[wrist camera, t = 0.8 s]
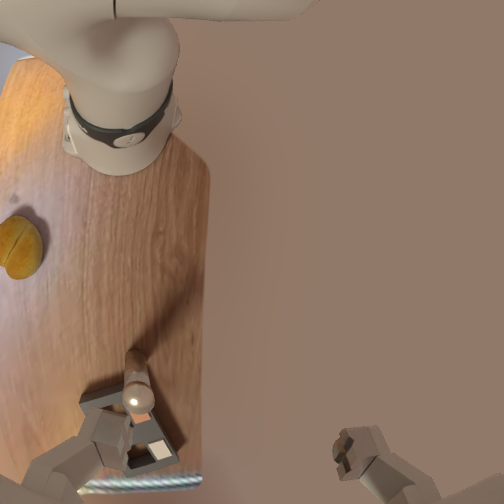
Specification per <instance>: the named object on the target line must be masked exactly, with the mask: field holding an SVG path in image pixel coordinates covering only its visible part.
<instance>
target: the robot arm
mask: <svg viewBox="0 0 504 504" xmlns="http://www.w3.org/2000/svg"><path fill="white" fill-rule="evenodd" d="M318 1H319V0H0V42H2V43H5V44H9V45H12V46H14V47H17V48H19V49H21V50H23V51H25V52H27V53H29V54H31V55H33V56H34V57H36V58H38V59H39V60H41V61H43V62H44V63H46V64H47V65H49V66H50V67H52V68H53V69H54V70H56V71H57V72H58V73H59V74H60V75H61V76H62V77H63V79H64V81H65V83H66V85H65V86H64V88H63V98H64V100H66V106H65V109H64V128H63V149H64V151H65V152H66V153H67V154H70V155H72V156H76V157H80V158H81V159H82V160H84V161H85V162H86V163H87V164H88V165H89V166H90V167H92V168H93V169H95V170H97V171H99V172H101V173H104V174H108V175H117V176H118V175H128V174H132V173H135V172H137V171H140V170H142V169H144V168H145V167H147V166H148V165H150V164H151V163H152V162H153V161H154V160H155V159H156V158H157V157H158V156H159V154H160V153H161V152H162V150H163V148H164V146H165V144H166V141H167V139H168V136H169V134H170V133H171V132H172V131H173V130H174V129H175V128H176V127H177V126H178V125H179V123H180V122H181V119H182V114H181V112H180V109H179V107H178V105H177V102H178V101H177V98H176V97H174V95H173V93H172V91H173V88H172V86H173V80H172V76H173V74H174V71H175V67H176V64H177V61H178V57H179V51H180V46H179V40H178V36H177V33H176V31H175V29H174V27H173V26H172V24H171V23H170V21H169V20H168V18H185V19H199V20H209V21H219V22H221V21H288V20H291V19H294V18H295V17H297V16H299V15H301V14H303V13H304V12H306V11H307V10H309V9H310V8H311V7H313V6H314V5H315V4H316V3H317V2H318ZM69 137H70V140H69V139H68V138H69ZM129 425H130V417H129V416H128V415H124V414H119V413H115V412H111V411H107V410H104V409H100V408H96V407H91V408H90V409H89V411H88V413H87V415H86V417H85V420H84V422H83V424H82V427H81V429H80V431H79V434H78V436H77V437H76V436H73V437H71V438H70V439H68V440H66V441H65V442H63V443H61V444H60V445H58V446H56V447H54V448H53V449H51V450H49V451H48V452H46V453H44V454H42V455H41V456H39V457H37V458H35V459H34V460H32V461H31V464H30V466H29V468H28V470H27V472H26V475H25V477H24V479H23V482H22V484H21V485H20V484H18V483H16V482H14V481H12V480H10V479H8V478H6V477H5V476H3V475H1V474H0V504H85V503H84V501H83V500H82V498H81V497H80V496H79V494H78V493H77V490H79V489H80V488H81V487H82V486H83V485H85V484H86V483H87V482H88V481H89V480H91V479H92V478H93V477H94V476H95V475H97V474H98V473H99V472H100V471H101V470H102V469H104V467H108V468H112V469H116V470H121V471H125V470H126V466H127V462H128V455H127V452H128V451H129V450H131V446H132V440H133V431H132V428H131V427H130V426H129ZM339 435H340V438H338V439H337V440H336V441H335V443H334V445H333V450H332V451H333V458H334V461H335V462H337V463H338V464H339V465H338V467H337V472H338V475H339V479H340V481H346V480H354V479H359V480H360V481H361V482H362V483H363V484H364V485H365V486H366V487H367V488H368V489H369V490H370V491H371V492H372V493H373V494H374V495H375V496H377V497H378V498H379V499H380V500H381V501H382V502H383V503H384V504H504V475H503V474H501V473H498V474H494V475H492V476H490V477H488V478H486V479H484V480H482V481H480V482H478V483H476V484H474V485H472V486H470V487H468V488H466V489H464V490H462V491H460V492H457V493H455V494H453V495H450V496H448V497H446V498H443V499H442V498H441V496H440V494H439V492H438V490H437V487H436V486H435V483H434V481H433V479H432V478H431V477H430V476H428V475H427V474H425V473H423V472H422V471H420V470H419V469H417V468H416V467H414V466H413V465H411V464H409V463H408V462H407V461H405V460H404V459H402V458H401V457H399V456H398V455H396V454H395V453H391V452H390V450H389V448H388V445H387V443H386V441H385V439H384V437H383V435H382V433H381V430H380V428H379V427H378V426H377V425H373V426H366V427H365V426H363V427H354V428H344V429H342V430H341V432H340V434H339Z"/></svg>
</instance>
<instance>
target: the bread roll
mask: <svg viewBox="0 0 504 504" xmlns="http://www.w3.org/2000/svg"><path fill="white" fill-rule="evenodd" d="M42 255H43V243H42V238H41V236H40V234H39V231H38V229H37V228H36V227H35V226H34V225H33V224H32V223H31V222H30V221H29V220H28V219H26V218H24V217H22V216H17V215H14V216H11V217H9V218H8V219H6V220H5V221H4V222H3V223H1V224H0V266H2V267H5V268H6V271H7V274H8V275H9V276H10V277H11V278H12V279H16V280H20V279H25V278H27V277H29V276H31V275H33V274H34V273H35V272H36V271H37V269H38V268H39V266H40V263H41V260H42Z"/></svg>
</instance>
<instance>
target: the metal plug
mask: <svg viewBox="0 0 504 504" xmlns="http://www.w3.org/2000/svg"><path fill="white" fill-rule="evenodd" d="M122 402H123V405H124V407H125V408H126V409H127V410H128V411H129V412H131V413H133V414H138V415H142V414H146V413H148V412H150V411H151V410H152V409H153V407H154V404H155V399H154V394H153V391H152V389H151V387H150V381H149V375H148V369H147V363H146V357H145V354H144V353H143V352H142V351H141V350H139V349H131V350H129V351H128V352H127V353H126V355H125V372H124V388H123V391H122Z"/></svg>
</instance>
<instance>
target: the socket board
mask: <svg viewBox="0 0 504 504" xmlns="http://www.w3.org/2000/svg"><path fill="white" fill-rule="evenodd" d="M123 388H124V382H123V383H120V384H117V385H114V386H111V387H108V388H104V389H101V390H98V391H95V392H91V393H88V394H85V395H81V398H80V401H79V405H80V407H81V409H82V411H83V412H84V414H85V416H86V415H87V413H88V411H89V409H90V408H91V407H96V408H102V407H106V406H109V405H112V404H115V403H119V402H121V404H122V406H123V408H124V409H125V411H126V413H127V415H128V416H129V417H130V425H129V426H130V427H131V428H132V431H133V440H132V445H135V444H138V443H142V442H144V444H145V445H146V447H147V448H148V450H149V452H150V454H147V455H144V456H141V457H137V458H134V459H129V457H128V462H127V466H126V470H125V471H122V472H123V473H124V475H125V476H126V477H127V478H129V477H133V476H136V475H140V474H144V473H147V472H151V471H154V470H157V469H160V468H164V467H167V466H170V465H173V464H176V463H179V462H180V460H179V457H178V454H177V451H176V450H175V448H174V446H173V445H172V443H171V441H170V440H169V438H168V436H167V434H166V433H165V431H164V429H163V427H162V425H161V424H160V422H159V420H158V418H157V416H156V414H155V412H154V411H153V409H152V410H151V411H150V412H148V413H146V414H142V415H138V414H133V413H131V412H129V411H128V410H127V409H126V408H125V407H124V405H123V402H122V391H123Z"/></svg>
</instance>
